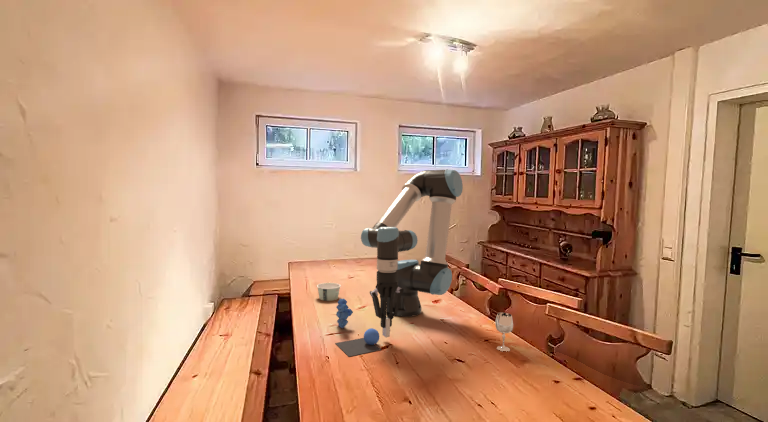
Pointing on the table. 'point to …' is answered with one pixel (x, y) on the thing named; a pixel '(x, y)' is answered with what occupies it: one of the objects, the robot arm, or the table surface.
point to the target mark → (356, 347)
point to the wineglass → (504, 327)
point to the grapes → (343, 313)
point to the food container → (328, 291)
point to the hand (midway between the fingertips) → (386, 335)
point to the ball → (371, 336)
